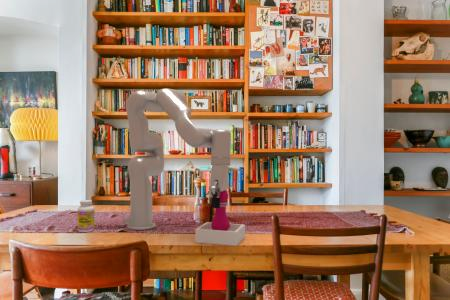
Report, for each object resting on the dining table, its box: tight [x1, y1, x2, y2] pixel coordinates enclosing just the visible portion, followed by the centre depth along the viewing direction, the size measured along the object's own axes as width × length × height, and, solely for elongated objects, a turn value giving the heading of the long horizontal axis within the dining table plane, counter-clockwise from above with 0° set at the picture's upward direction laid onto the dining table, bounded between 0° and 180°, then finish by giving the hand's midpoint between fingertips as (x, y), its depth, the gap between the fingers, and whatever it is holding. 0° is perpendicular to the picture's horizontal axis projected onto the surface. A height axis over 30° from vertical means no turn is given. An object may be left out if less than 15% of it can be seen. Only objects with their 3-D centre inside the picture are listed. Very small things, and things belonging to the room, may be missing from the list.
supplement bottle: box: [77, 199, 95, 233], centre depth 153 cm, size 7×7×13 cm
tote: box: [194, 221, 246, 247], centre depth 140 cm, size 16×13×5 cm
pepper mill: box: [211, 190, 231, 231], centre depth 140 cm, size 7×7×20 cm
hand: (219, 205), depth 140 cm, fingers open, 9 cm apart
